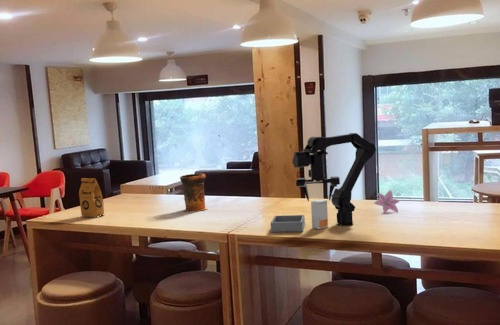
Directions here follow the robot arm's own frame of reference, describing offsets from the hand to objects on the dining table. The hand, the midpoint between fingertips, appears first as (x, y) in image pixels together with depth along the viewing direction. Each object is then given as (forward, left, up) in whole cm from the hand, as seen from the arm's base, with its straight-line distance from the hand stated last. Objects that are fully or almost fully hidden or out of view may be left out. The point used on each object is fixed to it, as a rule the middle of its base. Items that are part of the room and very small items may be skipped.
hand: (319, 200), depth 208 cm
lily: (-31, -30, -12) cm, 45 cm away
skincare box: (0, 0, -12) cm, 12 cm away
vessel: (+72, -47, -12) cm, 87 cm away
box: (+14, +1, -12) cm, 18 cm away
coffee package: (+129, -36, -12) cm, 135 cm away
